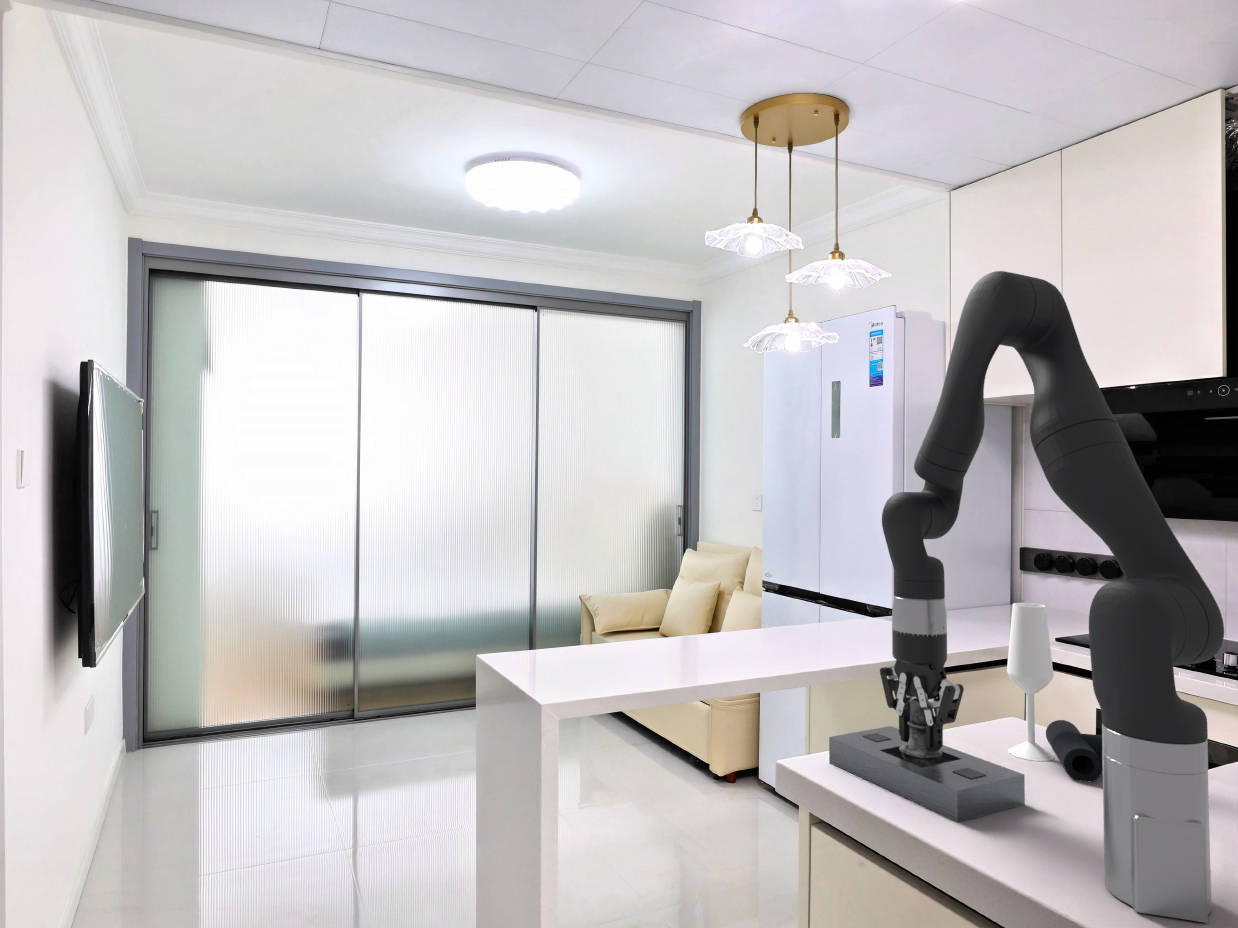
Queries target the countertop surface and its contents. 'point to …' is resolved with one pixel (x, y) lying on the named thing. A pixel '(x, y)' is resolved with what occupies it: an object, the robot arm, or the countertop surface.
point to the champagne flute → (1030, 668)
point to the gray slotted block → (929, 775)
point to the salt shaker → (918, 739)
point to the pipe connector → (1076, 750)
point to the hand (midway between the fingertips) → (920, 744)
